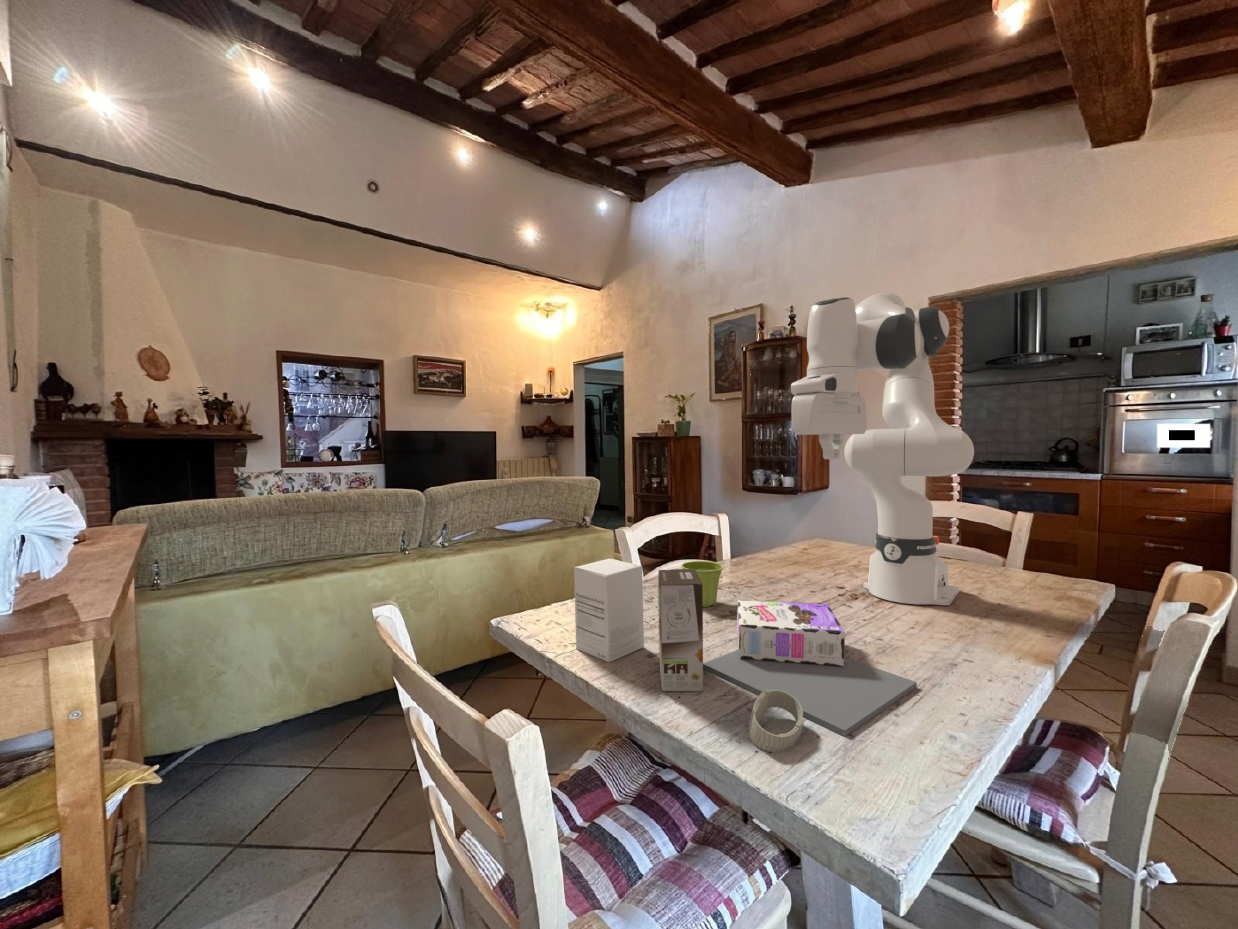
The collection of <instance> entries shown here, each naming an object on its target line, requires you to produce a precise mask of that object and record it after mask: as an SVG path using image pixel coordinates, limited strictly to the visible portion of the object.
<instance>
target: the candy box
mask: <svg viewBox="0 0 1238 929" xmlns="http://www.w3.org/2000/svg"><path fill="white" fill-rule="evenodd" d="M736 610H737V614H736V617H737V618H736V625H737V626H736V629H737V630H736V632H737V645H738V649H739V658H744V659H756V660H768V661H780V662H793V663H808V664H818V665H831V666H844V657H845V643H846V638H845V635H846V634H845V630H844V629H843V627H842V626H841V624H840V622H839V620H838V618H837V616H836V615H835V614H834V612H833V609H831V607H830V606H829V604H828V603H813V602H812V603H811V602H789V601H788V602H787V601H768V600H750V599H749V600H746V599H745V600H744V599H738V600H737V609H736Z"/></svg>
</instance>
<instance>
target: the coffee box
mask: <svg viewBox="0 0 1238 929" xmlns="http://www.w3.org/2000/svg"><path fill="white" fill-rule="evenodd" d="M657 572H658V576H657V577H658V578H657V579H658V580H657V581H658V582H657V584H658V593H657V594H658V596H657V597H658V600H657V602H658V650H659V653H658V656H659V657H658V658H659V660H658V661H659V674H660V688H661V691H662V692H702V691H703V690H704V669H703V663H704V637H703V636H704V619H703V618H704V617H703V616H704V613H703V612H704V611H703V610H704V609H703V608H704V607H703V593H702V585H703V584H702V582H701V580H700V578H699V576H698V574H697V571H696V570H695V569H683V568H676V569H675V568H673V569H671V568H670V569H659V570H658V571H657Z"/></svg>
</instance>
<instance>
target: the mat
mask: <svg viewBox="0 0 1238 929" xmlns="http://www.w3.org/2000/svg"><path fill="white" fill-rule="evenodd" d="M703 670H706V671H707V672H709V673H711V674H713V675H716V676H717V677H720V678H722V679H723V680H726V681H728V682H730V683H733V684H734V685H736V686H739V687H740V688H743V689H744V690H747V691H749V692H751V693H753V694H755V695H756V696H759V695H760V694H761V692H762V691H764V690H768V691H770V690H781V691H784V692H787V693H788V694H790V695H792V696H793V697H794V698H796V700H798V702H799V703H800V705H801V707H802V710H803V717H802V718H805V719H806V720H809V721H811V722H813V723H815V724H818V725H819V726H821V727H824V728H826V729H828V730H830V731H832V732H834V733H837V734H838V735H841V736H843V737H844V738H845V737H847V736H848V735H849V734H851V733H853V732H854V731H855V730H857V729H858V728H860V727H861V726H862V725H864V724H865V723H867V722H869V721H870V720H872V718H874V717H876V716H877V715H879V714H880V713H881V712H883V711H885V710H886V709H887V708H889V707H890V706H892V705H894V704H895V703H896V702H898V701H900V700H901V699H902V698H904V697H905V696H906V695H908V694H909V693H911V692H912V691H913V690H915V689H917V687H918V686H917V685H918V684H917V683H918V682H917V681H914V680H911V679H909V678H907V677H903V676H900V675H897V674H894V673H892V672H889V671H886V670H882V669H881V668H878V667H875V666H871V665H869V664H866V663H862V662H860V661H857V660H854V659H851V658H848V657H846V656H844V666H831V665H818V664H808V663H793V662H780V661H768V660H756V659H744V658H739V648H738V649H735V650H734V651H731V652H729V653H726V654H723V655H721V656H718V657H716V658H713V659H711V660H709V661H708V660H707V661H706V662H703Z"/></svg>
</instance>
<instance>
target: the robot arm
mask: <svg viewBox="0 0 1238 929" xmlns="http://www.w3.org/2000/svg"><path fill="white" fill-rule="evenodd" d="M855 304H856V303H855V301H854V298H851V297H838V298H832V299H831V298H830V299H824V300H820V301H817V302H815V303H814V304H813V305H811V307H810V309H809V316H808V321H807V330H806V331H807V332H806V351H807V354H808V363H807V367H806V376H804V377H802V378H801V379H798V380H796V381H793V382H792V383H791V385H790V392H791V395H794V396H793V398H792V400H791V427H792V430H793V432H794V434H795V435H796V436H797V435H801V436H802V435H803V436H805V435H807V436H810V435H813V436H814V435H815V436H816V435H818V442H819V444H820V447H821V449H822V457H823V459H824V460H837V459H840V457H841V448H842V447H843V444H844V442H845V435H850V437H849V438H848V439H847V441H846V443H845V446H844V452H843V454H844V460H845V462H846V464H847V466H848V467H849V469H851V470H852V471H853V472H854V473H855V474H857V475H858V476H860V477H861V479H863V480H864V481H865V483H867V485H868V486H869V488H870V490H871V492H872V494H873V496H874V498H875V504H876V510H877V511H876V512H877V513H876V514H877V532H876V533H875V539H874V542H875V549H876V550H875V552H873V553H872V554H871V555H870V557H869V558H870V559H869V568H868V579H867V580H868V581H864V582H862V583H863V585H862V587H863V588H865V589H866V590H868V591H869V593H870V594H871V595H873V596H875V597H876V598H880V599H883V600H886V601H889V602H895V603H900V604H910V605H935V606H936V605H937V606H951V604H952V603H953V601H954V600H955V598H956V597H957V596H958V594H959V593H960V590H961V589H960V586H958V585H956V584H952V583H949V569H948V566H947V565H946V563H945V562H944V561H943V560H942V559H941V558H940V557H939V556H938V555H937V546H939V543H940V537H939V536H938V535H933V532H934V531H933V529H934V528H933V525H934V524H933V521H934V520H933V519H934V518H933V517H934V512H933V511H934V508H933V505H932V503H931V501H930V499H928V498H927V497H926V496H924V495H922V494H921V493H919V492H917V491H915V490H913V489H910V488H908V487H906V486H905V485H904V484H903V482H902V477H905V476H906V477H943V476H951V475H957V474H962V473H964V472H965V471H966V470H967V469H968V468H969V467H970V465H971V464H972V462H973V459H974V456H975V447H974V443H973V441H972V439H971V438H970V436H969V435H968V434H967V433H966V432H965V431H963V430H962V429H959V428H956V427H954V426H952V425H950V424H948V423H946V422H945V421H944V420H943V419H942V418H941V417H940V416H939V415H938V413H937V410H936V406H935V405H936V404H935V384H934V377H933V373H932V370H931V367H930V365H929V358H930V357H932V358H936V357H937V356H938V355H939V351H941V349H943V348H944V346H945V345H946V342H947V341H948V339H949V332H950V324H949V323H950V322H949V319H948V317H947V316H946V314H945V313H944V312H943V311H942V310H941V309H940V307H937V306H925V307H922V308H919V310H913V309H912V308H911V307H908V306H905V302H904V301H903V299H902V298H901V297H900V296H899V295H898V294H895V293H893V292H879V293H874V294H872V295H870V296H867V297H865V299H863V300H862V301H860V302H859V303H858V304H857V305H855ZM873 370H874V371H877V370H888V373H887V376H886V379H885V383H884V388H883V396H882V397H883V398H882V406H881V407H882V409H881V411H882V412H881V415H882V419H883V420H884V422H885V423H886V424H887V425H888V426H889V427H890V428H874V429H873V428H871V429H868V424H867V423H868V422H867V420H868V419H867V408H866V402H865V399H864V397H862V394H861V393H860V391H859V388H858V384H859V383H858V382H859V381H858V380H859V379H858V377H859V376H858V372H865V371H867V372H868V371H873Z"/></svg>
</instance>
